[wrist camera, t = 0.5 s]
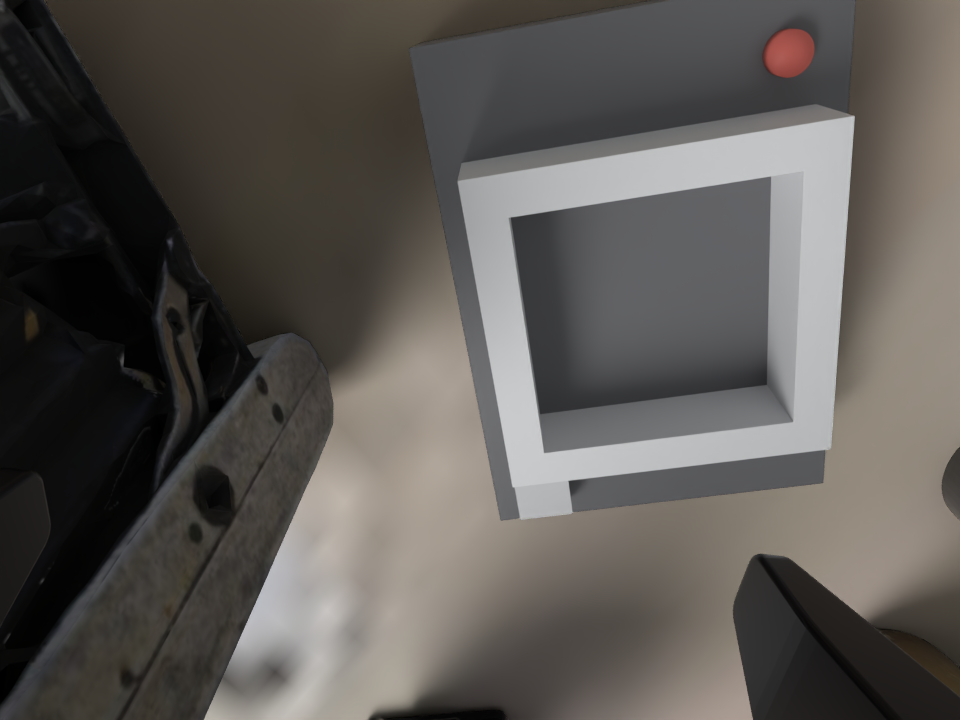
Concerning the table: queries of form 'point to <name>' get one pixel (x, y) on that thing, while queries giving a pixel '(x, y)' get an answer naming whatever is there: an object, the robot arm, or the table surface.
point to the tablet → (927, 657)
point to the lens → (952, 484)
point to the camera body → (647, 244)
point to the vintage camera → (128, 414)
